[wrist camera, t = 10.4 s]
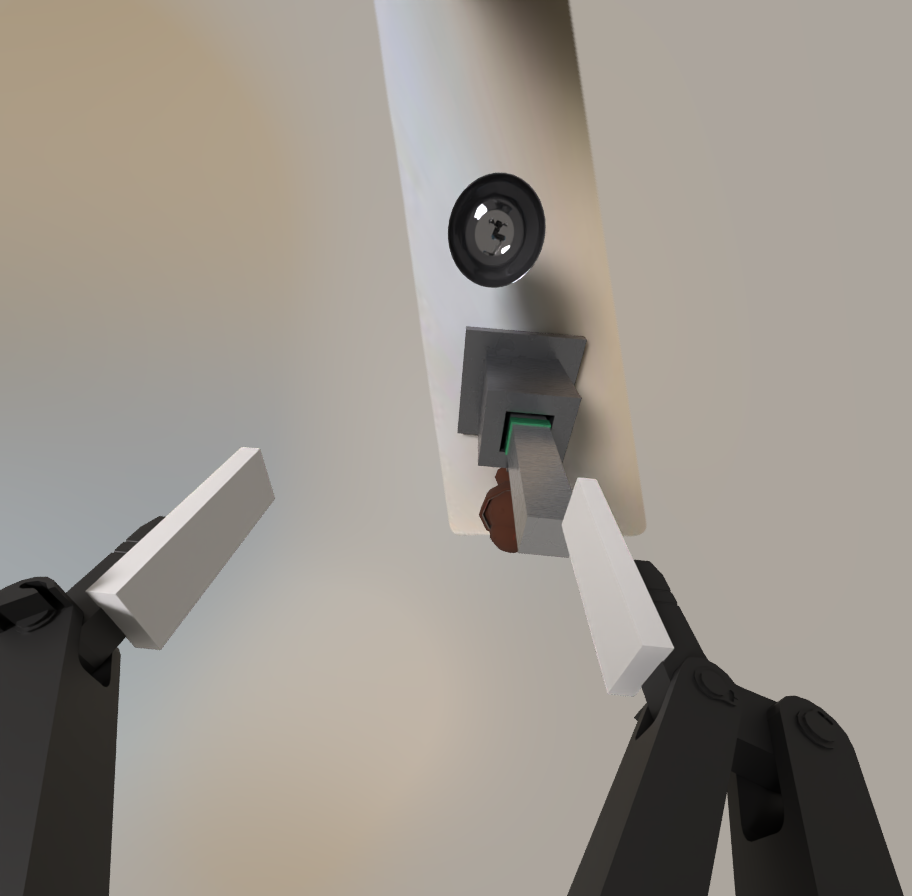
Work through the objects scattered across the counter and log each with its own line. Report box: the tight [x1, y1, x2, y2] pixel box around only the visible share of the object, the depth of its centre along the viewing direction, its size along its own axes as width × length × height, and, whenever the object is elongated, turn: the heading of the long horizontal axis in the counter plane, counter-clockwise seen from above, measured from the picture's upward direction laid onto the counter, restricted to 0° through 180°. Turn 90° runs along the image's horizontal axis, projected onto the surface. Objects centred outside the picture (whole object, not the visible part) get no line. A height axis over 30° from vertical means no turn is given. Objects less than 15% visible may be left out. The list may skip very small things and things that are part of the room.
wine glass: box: [448, 173, 545, 288], centre depth 34 cm, size 8×8×15 cm
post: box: [504, 411, 572, 558], centre depth 35 cm, size 4×4×21 cm
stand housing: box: [458, 326, 587, 472], centre depth 44 cm, size 16×16×15 cm
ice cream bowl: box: [479, 468, 518, 553], centre depth 53 cm, size 11×11×15 cm
